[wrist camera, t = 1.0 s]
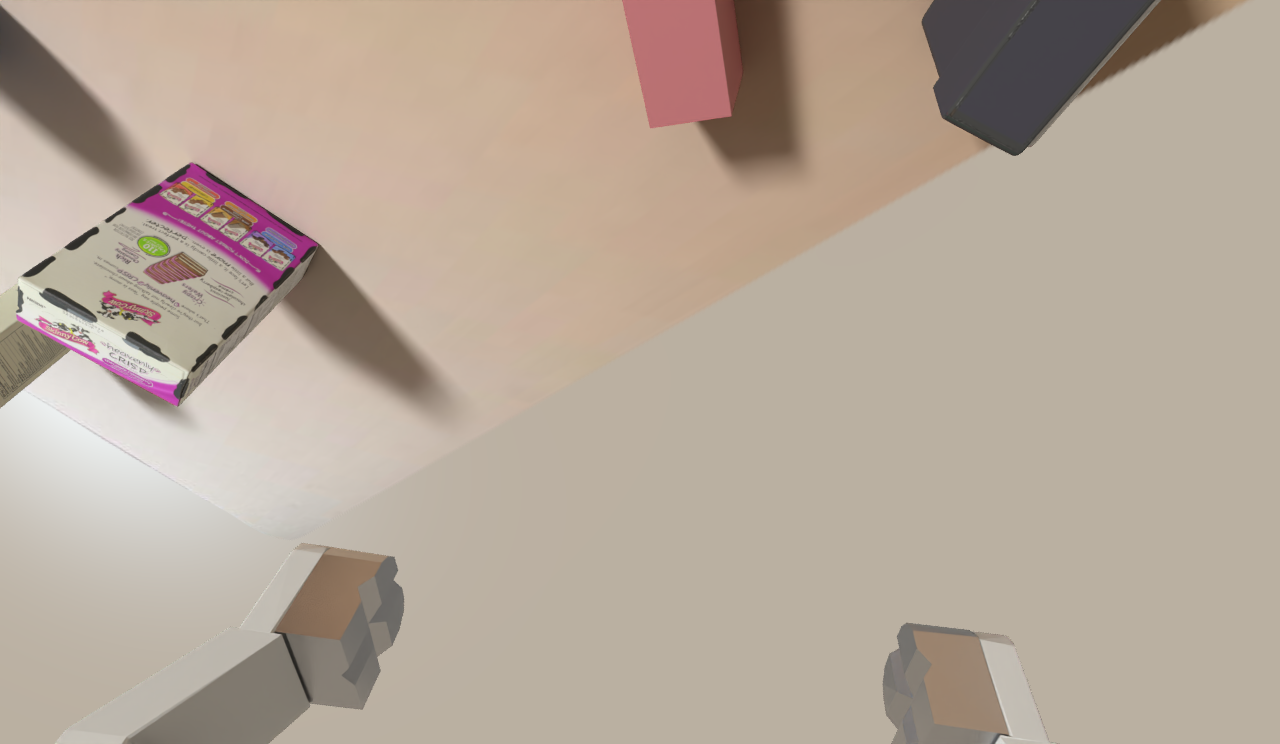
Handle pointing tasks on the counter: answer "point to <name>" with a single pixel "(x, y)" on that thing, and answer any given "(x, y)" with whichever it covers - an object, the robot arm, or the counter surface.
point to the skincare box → (22, 349)
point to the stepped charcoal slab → (1021, 60)
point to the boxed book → (685, 58)
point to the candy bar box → (167, 283)
